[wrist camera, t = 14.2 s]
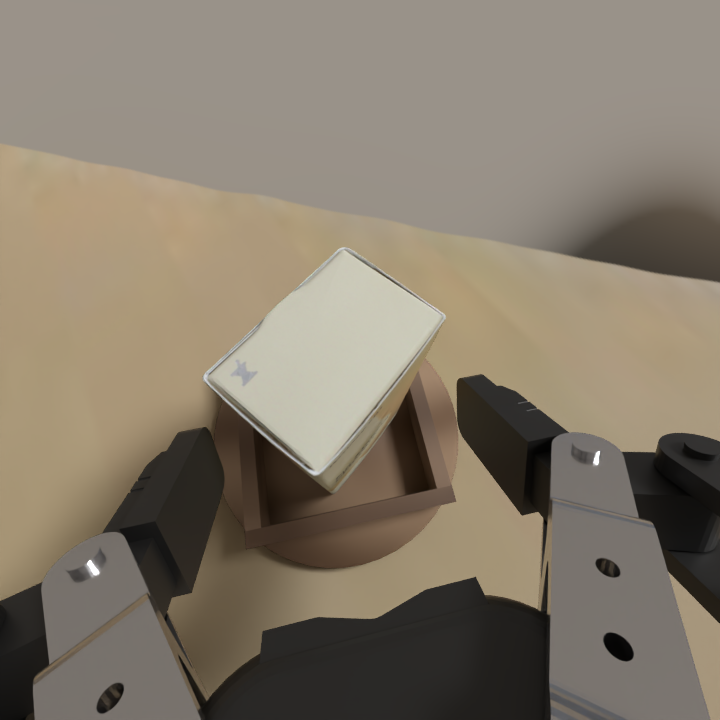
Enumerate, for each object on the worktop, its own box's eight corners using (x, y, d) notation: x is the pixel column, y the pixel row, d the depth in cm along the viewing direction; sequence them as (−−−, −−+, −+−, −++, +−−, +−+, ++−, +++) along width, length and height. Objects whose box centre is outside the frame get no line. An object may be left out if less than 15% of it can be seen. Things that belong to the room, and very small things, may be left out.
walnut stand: (214, 345, 23) (197, 326, 21) (419, 311, 25) (426, 289, 22) (224, 594, 18) (203, 611, 15) (487, 531, 19) (508, 537, 17)
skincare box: (334, 497, 19) (308, 496, 8) (279, 448, 20) (186, 385, 9) (400, 411, 21) (455, 312, 10) (347, 371, 22) (342, 238, 11)
